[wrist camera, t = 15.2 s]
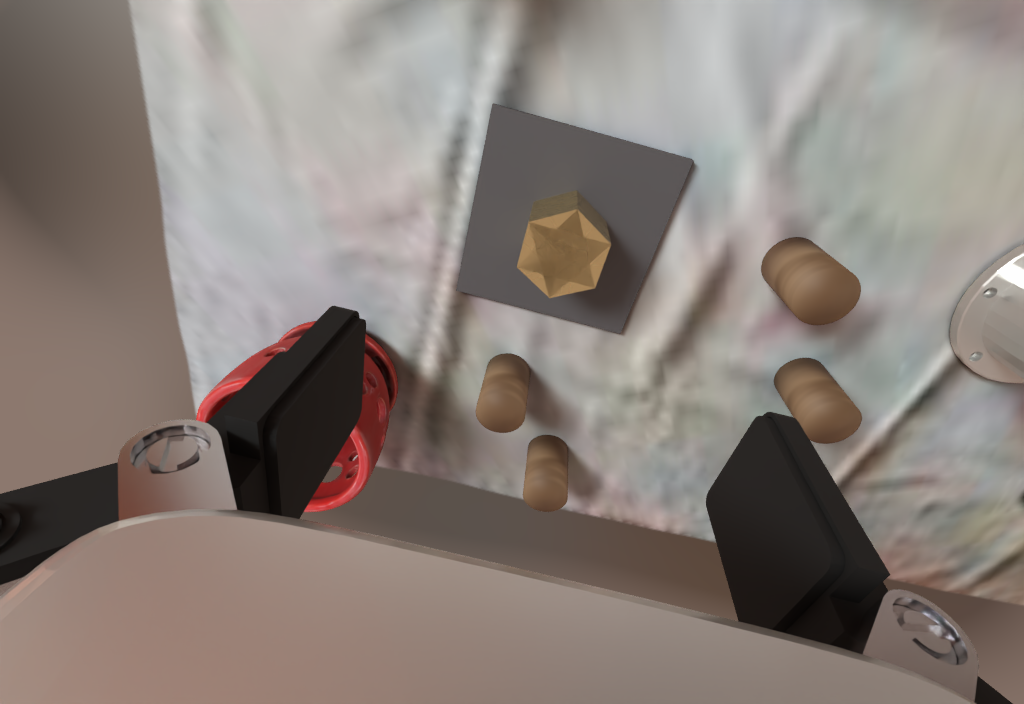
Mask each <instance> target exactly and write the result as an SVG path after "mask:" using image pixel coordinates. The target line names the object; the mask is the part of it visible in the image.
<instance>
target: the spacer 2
mask: <svg viewBox="0 0 1024 704" xmlns="http://www.w3.org/2000/svg"><path fill="white" fill-rule="evenodd" d="M523 498H524V501H525V502H526V503H527V504H528V505H529V506H530V507H531V508H533V509H536V510H539V511H544V512H551V511H555V510H558V509H560V508H562V507H563V506H564V505H565V504H566V502H567V498H568V448H567V445H566V443H565V442H564V441H563V440H561V439H560V438H558V437H556V436H552V435H542V436H538V437H536V438H534V439H533V440H532V441H531V442H530V443H529V446H528V453H527V463H526V472H525V481H524V490H523Z"/></svg>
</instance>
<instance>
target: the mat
mask: <svg viewBox="0 0 1024 704" xmlns="http://www.w3.org/2000/svg"><path fill="white" fill-rule="evenodd" d="M692 163H693V160H692V159H690V158H686V157H682V156H679V155H675V154H672V153H668V152H665V151H661V150H658V149H654V148H650V147H647V146H643V145H640V144H636V143H633V142H629V141H626V140H622V139H618V138H615V137H611V136H608V135H604V134H601V133H597V132H593V131H590V130H586V129H583V128H579V127H576V126H572V125H569V124H565V123H561V122H558V121H554V120H551V119H547V118H544V117H540V116H537V115H533V114H529V113H526V112H522V111H519V110H515V109H512V108H508V107H504V106H501V105H497V104H492V109H491V114H490V119H489V125H488V130H487V135H486V140H485V145H484V150H483V155H482V161H481V166H480V171H479V176H478V181H477V186H476V191H475V196H474V202H473V207H472V212H471V217H470V222H469V227H468V232H467V238H466V243H465V248H464V253H463V258H462V263H461V268H460V274H459V279H458V284H457V289H456V291H460V292H464V293H468V294H472V295H475V296H479V297H483V298H487V299H490V300H494V301H498V302H502V303H506V304H509V305H513V306H517V307H521V308H524V309H528V310H532V311H536V312H540V313H543V314H547V315H551V316H555V317H558V318H562V319H566V320H570V321H574V322H577V323H581V324H585V325H589V326H592V327H596V328H600V329H604V330H608V331H611V332H615V333H619V334H620V333H621V331H622V329H623V326H624V324H625V321H626V319H627V317H628V314H629V312H630V310H631V307H632V305H633V303H634V300H635V298H636V296H637V293H638V291H639V288H640V286H641V284H642V281H643V279H644V277H645V274H646V272H647V270H648V267H649V265H650V262H651V260H652V258H653V255H654V253H655V251H656V248H657V246H658V244H659V241H660V239H661V237H662V234H663V232H664V229H665V227H666V225H667V222H668V220H669V218H670V215H671V213H672V211H673V208H674V206H675V203H676V201H677V199H678V196H679V194H680V192H681V189H682V187H683V185H684V182H685V180H686V178H687V175H688V173H689V170H690V168H691V166H692ZM575 190H577V191H578V192H579V193H580V194H581V195H582V196H583V197H584V198H585V199H586V200H587V201H588V203H589V204H590V205H591V206H592V207H593V208H594V209H595V210H596V211H597V212H598V213H599V214H600V215H601V216H602V218H603V219H604V220H605V221H606V222H607V227H608V232H609V237H610V241H611V246H610V249H609V252H608V255H607V257H606V260H605V263H604V265H603V268H602V271H601V274H600V276H599V279H598V282H597V284H596V287H595V288H594V289H589V290H585V291H580V292H575V293H571V294H566V295H562V296H557V297H553V298H549V297H548V296H547V295H546V294H545V293H544V292H542V291H541V290H540V289H539V288H538V287H537V286H536V285H535V284H534V283H533V282H532V281H531V280H530V279H529V278H528V277H527V276H526V275H524V274H523V273H522V272H521V271H520V270H519V269H518V268H517V264H518V260H519V256H520V252H521V248H522V244H523V240H524V237H525V233H526V229H527V225H528V221H529V218H530V214H531V210H532V206H533V202H534V201H538V200H542V199H545V198H549V197H553V196H557V195H560V194H564V193H568V192H571V191H575Z"/></svg>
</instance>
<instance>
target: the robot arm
mask: <svg viewBox="0 0 1024 704" xmlns="http://www.w3.org/2000/svg"><path fill="white" fill-rule="evenodd" d="M365 337H366V321H365V320H364V319H360V318H359V313H358V312H357V311H353V310H349V309H345V308H341V307H337V306H332V307H330V308H329V309H328V310H327V311H326V312H325V313H324V314H323V315H322V316H321V317H320V318H319V319H318V320H317V321H316V322H315V323H314V324H313V325H312V326H311V327H310V328H309V329H308V330H307V331H306V332H305V333H304V334H303V335H302V336H301V337H300V338H299V339H298V340H297V341H296V342H295V343H294V344H293V346H292V347H291V348H290V349H289V350H288V351H287V352H285V351H282V352H279V353H277V354H276V355H275V356H274V357H273V358H272V359H271V360H270V361H269V362H268V363H267V364H266V365H265V366H264V367H263V368H261V369H260V370H259V371H258V372H257V373H256V374H255V375H254V376H253V377H252V378H251V379H250V380H249V381H248V382H247V383H246V384H245V385H244V386H243V387H242V388H241V389H240V390H239V391H238V392H237V393H236V394H235V395H234V396H233V397H232V398H231V399H230V400H229V401H228V402H227V403H226V404H225V405H224V406H223V407H222V408H221V409H220V410H219V411H218V412H217V413H216V414H215V415H214V416H213V417H212V418H211V419H210V420H209V421H208V422H207V423H204V422H201V421H198V420H187V419H186V420H185V419H182V420H172V421H166V422H163V423H159V424H156V425H152V426H151V427H148V428H146V429H144V430H142V431H140V432H138V433H137V434H136V435H135V436H133V437H132V438H130V439H129V440H128V441H127V442H126V443H125V445H124V446H123V447H122V448H121V450H120V453H119V457H118V463H114V464H110V465H107V466H103V467H99V468H96V469H92V470H88V471H84V472H80V473H77V474H73V475H69V476H65V477H62V478H58V479H54V480H51V481H47V482H43V483H39V484H36V485H32V486H28V487H25V488H21V489H17V490H13V491H10V492H6V493H2V494H0V704H1012V703H1011V702H1010V701H1009V700H1007V699H1006V698H1005V697H1003V696H1002V695H1001V694H1000V693H999V692H997V691H996V690H995V689H994V688H992V687H991V686H990V685H989V684H987V683H986V682H985V681H983V680H982V679H981V678H980V677H978V669H979V663H978V655H977V653H976V651H975V649H974V646H973V644H972V642H971V641H970V640H969V638H968V637H967V635H966V634H965V633H964V631H963V630H962V629H961V628H960V627H959V626H958V625H957V623H956V622H954V621H953V619H952V618H951V617H950V616H949V615H947V614H946V613H945V612H944V611H942V610H941V609H940V608H939V607H937V606H936V605H935V604H933V603H931V602H930V601H928V600H927V599H925V598H923V597H922V596H919V595H917V594H914V593H912V592H910V591H905V590H900V589H895V590H891V591H888V590H887V588H886V586H885V585H884V583H883V581H884V580H885V579H886V578H887V577H888V576H889V575H890V573H889V572H888V570H887V568H886V567H885V565H884V563H883V562H882V560H881V558H880V557H879V555H878V553H877V552H876V550H875V548H874V547H873V545H872V543H871V542H870V540H869V538H868V537H867V535H866V533H865V532H864V530H863V528H862V527H861V525H860V523H859V522H858V520H857V518H856V517H855V515H854V513H853V512H852V510H851V508H850V507H849V505H848V503H847V502H846V500H845V498H844V497H843V495H842V493H841V492H840V490H839V488H838V487H837V485H836V483H835V482H834V480H833V478H832V477H831V475H830V473H829V472H828V470H827V468H826V467H825V465H824V463H823V462H822V460H821V458H820V457H819V455H818V453H817V452H816V450H815V448H814V447H813V445H812V443H811V442H810V440H809V438H808V437H807V435H806V433H805V432H804V430H803V428H802V427H801V425H800V423H799V422H798V421H797V419H796V418H793V417H789V416H785V415H781V414H777V413H773V412H767V413H766V414H764V415H763V416H758V417H756V418H755V419H754V421H753V422H752V424H751V425H750V427H749V428H748V430H747V432H746V433H745V435H744V436H743V438H742V439H741V441H740V443H739V444H738V446H737V447H736V449H735V450H734V452H733V454H732V455H731V457H730V458H729V460H728V462H727V463H726V465H725V466H724V468H723V469H722V471H721V473H720V474H719V476H718V477H717V479H716V480H715V482H714V484H713V485H712V487H711V488H710V490H709V492H708V494H707V498H706V507H707V511H708V514H709V518H710V521H711V525H712V528H713V532H714V535H715V539H716V543H717V546H718V549H719V553H720V557H721V560H722V564H723V567H724V570H725V574H726V578H727V581H728V585H729V588H730V592H731V596H732V599H733V603H734V606H735V610H736V613H737V617H738V620H739V621H735V620H730V619H726V618H722V617H718V616H714V615H709V614H705V613H702V612H698V611H693V610H689V609H685V608H681V607H677V606H673V605H669V604H665V603H661V602H657V601H652V600H649V599H644V598H640V597H636V596H632V595H627V594H624V593H619V592H615V591H611V590H607V589H603V588H598V587H594V586H590V585H586V584H582V583H578V582H573V581H569V580H565V579H561V578H557V577H552V576H548V575H544V574H540V573H536V572H531V571H527V570H523V569H518V568H514V567H510V566H506V565H502V564H497V563H493V562H489V561H484V560H480V559H476V558H472V557H468V556H463V555H459V554H455V553H450V552H446V551H442V550H437V549H433V548H429V547H424V546H420V545H416V544H411V543H407V542H403V541H399V540H394V539H390V538H386V537H382V536H377V535H372V534H368V533H363V532H358V531H354V530H349V529H344V528H340V527H335V526H330V525H326V524H321V523H317V522H312V521H307V520H302V519H300V517H301V515H302V513H303V512H304V510H305V509H306V507H307V505H308V504H309V502H310V500H311V499H312V497H313V495H314V494H315V492H316V490H317V489H318V487H319V485H320V484H321V482H322V480H323V479H324V477H325V475H326V474H327V472H328V471H329V469H330V467H331V466H332V464H333V462H334V461H335V459H336V457H337V456H338V454H339V452H340V451H341V449H342V447H343V446H344V444H345V442H346V441H347V439H348V437H349V436H350V434H351V432H352V431H353V429H354V428H355V426H356V424H357V422H358V420H359V418H360V415H361V410H362V396H363V376H364V356H365ZM950 340H951V345H952V347H953V350H954V352H955V354H956V356H957V357H958V358H959V359H960V360H961V362H962V363H963V364H965V365H966V366H967V367H969V368H970V369H971V370H972V371H974V372H975V373H977V374H979V375H981V376H983V377H985V378H987V379H991V380H995V381H998V382H1006V383H1024V244H1023V245H1021V246H1019V247H1017V248H1015V249H1013V250H1012V251H1010V252H1009V253H1007V254H1006V255H1004V256H1003V257H1001V258H1000V259H998V260H997V261H996V262H995V263H993V264H992V265H991V266H990V267H989V268H988V269H986V270H985V271H984V272H983V273H982V274H981V275H980V276H979V277H978V278H977V279H976V280H975V281H974V282H973V284H972V285H971V286H970V287H969V288H968V289H967V291H966V292H965V294H964V295H963V297H962V298H961V300H960V301H959V303H958V305H957V307H956V310H955V312H954V315H953V317H952V321H951V327H950Z"/></svg>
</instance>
